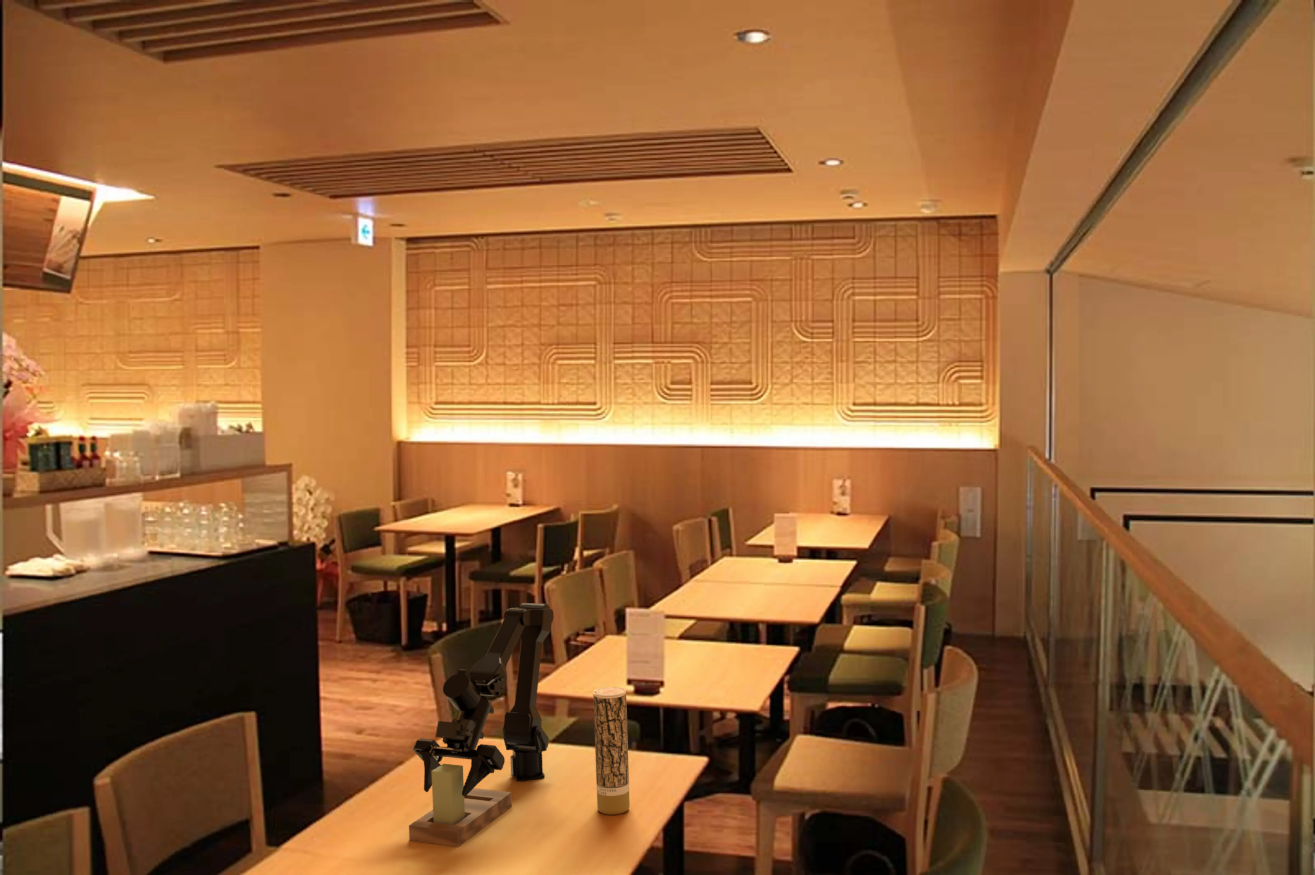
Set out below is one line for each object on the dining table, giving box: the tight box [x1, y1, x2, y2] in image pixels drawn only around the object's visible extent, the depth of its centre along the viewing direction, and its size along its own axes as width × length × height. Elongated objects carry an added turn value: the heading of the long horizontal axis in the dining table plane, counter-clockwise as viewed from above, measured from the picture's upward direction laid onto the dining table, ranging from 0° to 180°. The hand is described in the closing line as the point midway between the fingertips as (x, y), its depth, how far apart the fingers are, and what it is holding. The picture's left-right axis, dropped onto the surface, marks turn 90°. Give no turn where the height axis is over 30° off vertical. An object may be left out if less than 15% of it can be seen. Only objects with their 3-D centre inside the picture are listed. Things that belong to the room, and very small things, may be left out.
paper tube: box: [593, 686, 631, 815], centre depth 232 cm, size 7×7×25 cm
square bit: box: [431, 763, 465, 825], centre depth 223 cm, size 4×4×13 cm
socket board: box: [408, 787, 513, 848], centre depth 228 cm, size 22×11×3 cm, turn 159°
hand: (444, 793), depth 222 cm, fingers open, 8 cm apart
